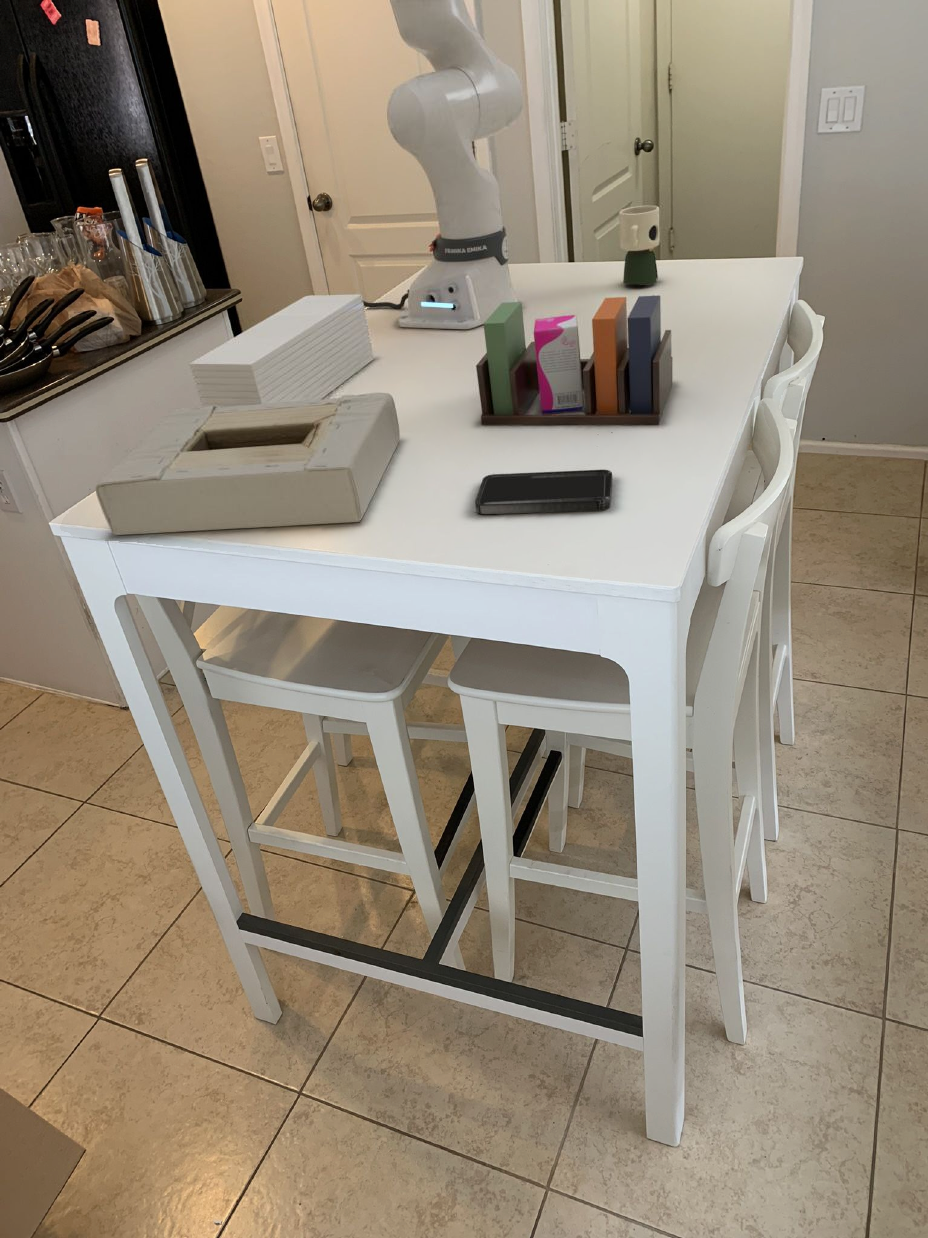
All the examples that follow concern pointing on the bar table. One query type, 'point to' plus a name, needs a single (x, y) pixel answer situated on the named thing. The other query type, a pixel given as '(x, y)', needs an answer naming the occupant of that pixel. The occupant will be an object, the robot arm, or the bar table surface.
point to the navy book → (643, 351)
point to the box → (254, 466)
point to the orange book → (609, 351)
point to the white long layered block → (288, 355)
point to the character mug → (639, 243)
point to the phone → (545, 492)
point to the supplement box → (558, 364)
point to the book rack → (528, 387)
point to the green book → (504, 351)
